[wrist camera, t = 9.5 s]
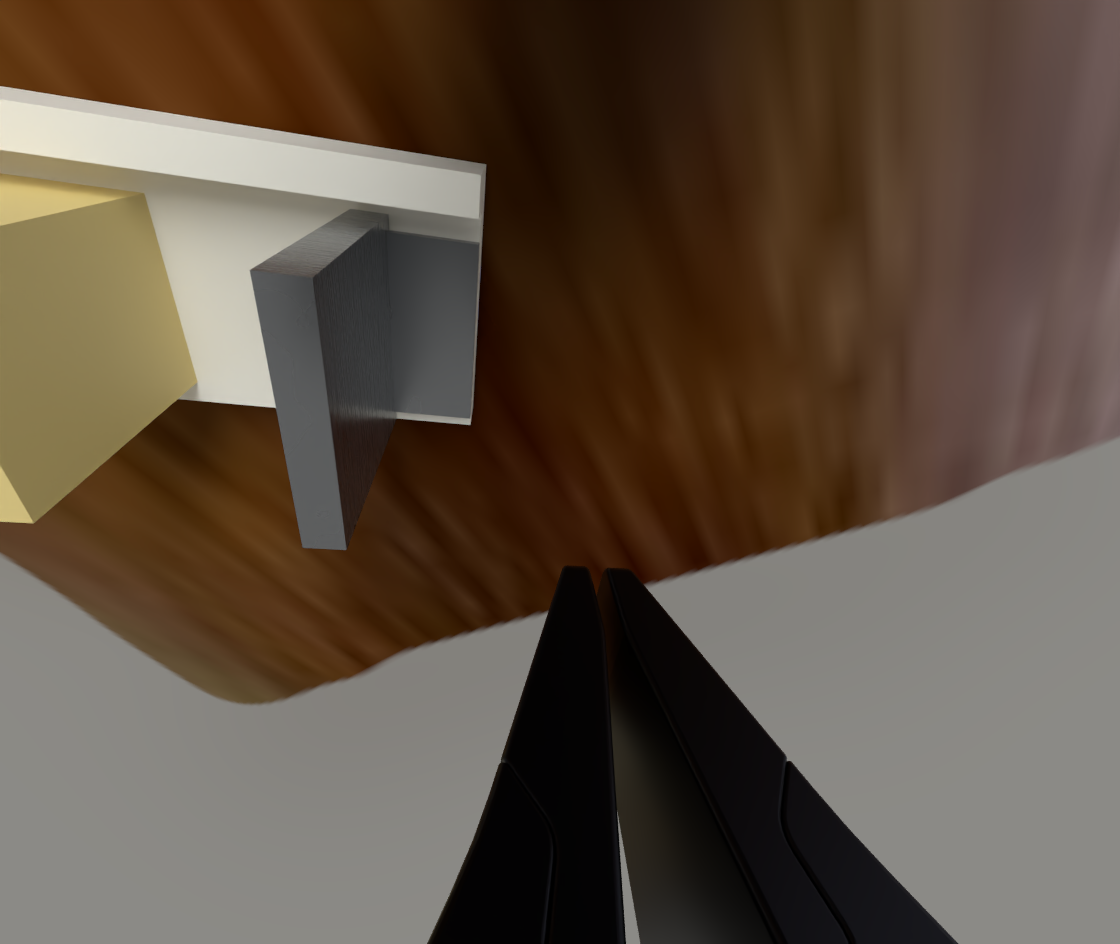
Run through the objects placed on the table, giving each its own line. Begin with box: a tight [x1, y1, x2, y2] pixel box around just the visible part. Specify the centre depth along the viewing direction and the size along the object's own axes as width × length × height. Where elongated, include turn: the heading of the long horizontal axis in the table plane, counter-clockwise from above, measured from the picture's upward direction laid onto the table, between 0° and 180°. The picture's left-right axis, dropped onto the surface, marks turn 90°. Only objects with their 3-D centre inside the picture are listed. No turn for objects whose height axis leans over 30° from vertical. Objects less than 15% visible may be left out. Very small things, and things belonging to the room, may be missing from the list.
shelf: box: [0, 86, 486, 425], centre depth 13 cm, size 20×8×7 cm, turn 82°
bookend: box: [250, 209, 480, 550], centre depth 13 cm, size 4×6×6 cm, turn 172°
